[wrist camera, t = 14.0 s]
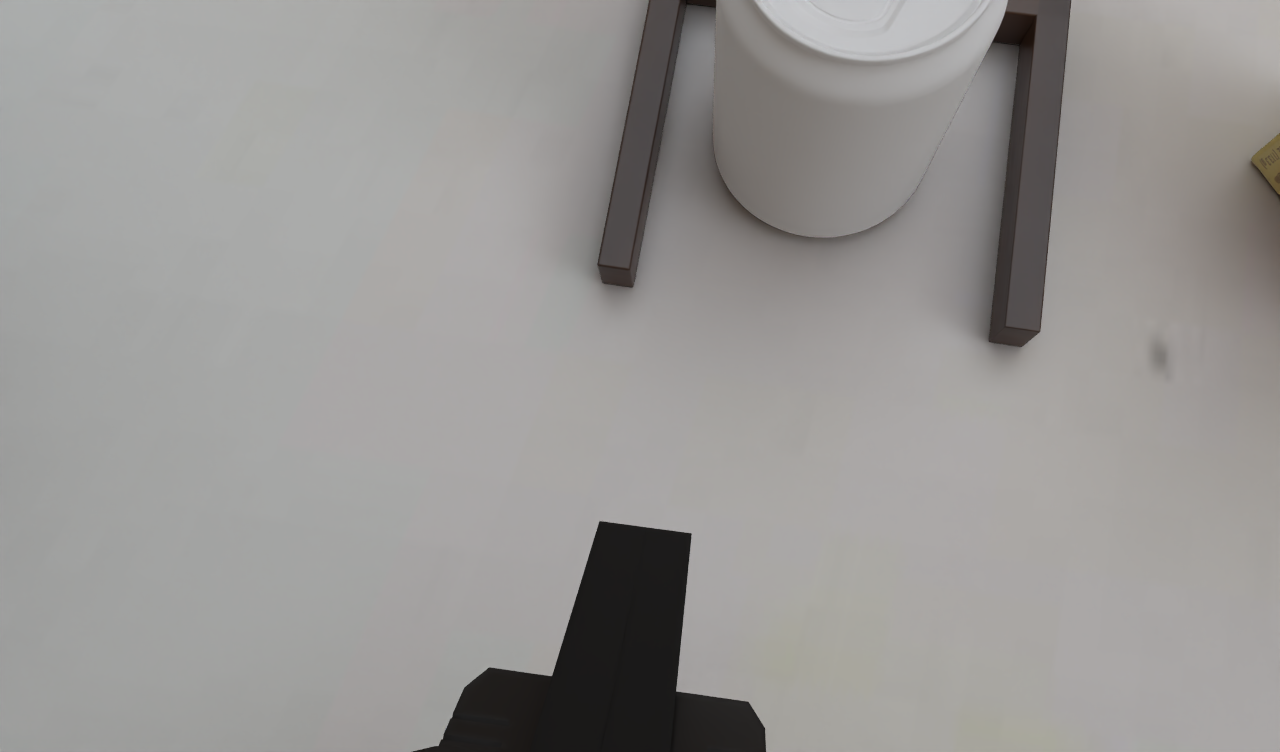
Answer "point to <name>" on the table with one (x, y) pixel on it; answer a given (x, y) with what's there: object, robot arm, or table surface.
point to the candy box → (1270, 162)
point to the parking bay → (1030, 174)
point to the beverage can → (839, 102)
